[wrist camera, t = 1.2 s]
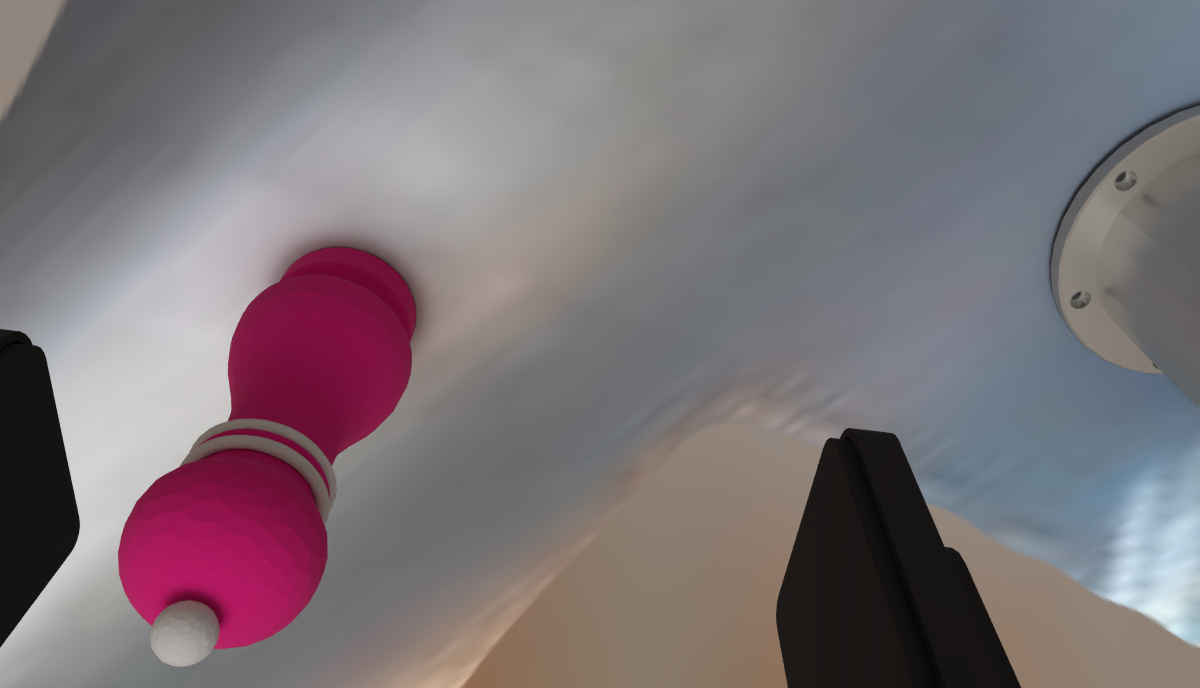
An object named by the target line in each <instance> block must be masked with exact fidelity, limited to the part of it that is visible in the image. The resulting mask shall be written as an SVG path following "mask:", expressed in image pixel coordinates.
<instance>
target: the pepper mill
mask: <svg viewBox="0 0 1200 688" xmlns="http://www.w3.org/2000/svg"><path fill="white" fill-rule="evenodd" d="M415 325H416V308H415V303H414V299H413V297H412V295H411V292H410V290H409V288H408V286H407V284H406V283H405V281H404V280H403V279H402V278H401V276H400V275H399V274H398V273H397V272H396V271H395V270H394V269H393V268H392V267H390V266H389V265H388V264H387V263H385V262H384V261H382V260H381V259H379V258H377V257H375V256H373V255H371V254H368V253H366V252H364V251H360V250H356V249H351V248H342V247H334V248H325V249H320V250H317V251H313V252H311V253H309V254H306V255H304V256H303V257H301V258H300V259H298V260H297V261H296V262H295V263H293V264H292V265H291V266H290V268H289V269H288V270H287V271H286V273H285V274H284V276H283V277H282V279H281V280H280V282H278V283H276V284H274V285H271V286H270V287H268V288H267V289H266V290H264V291H263V292H261V293H260V294H259V295H258V296H257V297H256V298H255V299H254V300H253V301H252V302H251V303H250V304H249V305H248V307H247V308H246V310H245V312H244V313H243V315H242V317H241V319H240V321H239V323H238V325H237V328H236V330H235V332H234V335H233V337H232V341H231V346H230V353H229V361H228V378H229V385H230V393H231V406H232V409H231V414H230V417H229V419H228V421H227V422H224V423H221V424H219V425H216V426H214V427H212V428H211V429H209V430H208V431H206V432H205V433H204V434H203V435H201V436H200V437H199V438H198V439H197V441H196V442H195V443H194V445H193V446H192V448H191V450H190V453H189V454H188V455H187V457H186V458H185V459H184V461H183V462H182V464H181V465H180V467H178V468H177V469H175V470H173V471H171V472H169V473H167V474H165V475H164V476H162V477H160V478H159V479H157V480H156V481H155V482H154V483H153V484H152V485H151V486H150V487H149V489H148V490H147V491H146V492H145V493H144V494H143V495H142V496H141V497H140V499H139V500H138V501H137V502H136V504H135V506H134V508H133V510H132V512H131V514H130V515H129V517H128V519H127V521H126V523H125V526H124V529H123V532H122V536H121V541H120V545H119V550H118V562H119V576H120V579H121V582H122V585H123V588H124V591H125V593H126V595H127V597H128V599H129V601H130V603H131V604H132V606H133V607H134V608H135V609H136V610H137V612H138V613H139V614H140V615H141V616H142V618H143V619H145V620H146V621H147V622H148V623H149V624H151V625H152V628H151V632H150V639H151V648H152V649H153V651H154V652H155V654H156V655H157V656H158V657H159V658H160V660H161V661H162V662H164V663H167V664H169V665H171V666H177V667H182V666H189V665H193V664H195V663H197V662H199V661H201V660H203V659H204V658H205V657H206V656H208V655H209V654H210V653H211V651H212V650H213V649H225V648H234V647H242V646H248V645H251V644H253V643H256V642H259V641H261V640H264V639H266V638H269V637H271V636H273V635H274V634H276V633H277V632H279V631H280V630H282V629H283V628H284V627H286V626H287V625H288V624H290V623H291V622H292V621H293V620H294V619H295V618H296V617H297V616H298V614H299V613H300V612H301V611H302V610H303V609H304V608H305V607H306V605H307V604H308V603H309V601H310V600H311V598H312V596H313V595H314V593H315V591H316V589H317V587H318V585H319V583H320V580H321V578H322V575H323V573H324V569H325V565H326V561H327V557H328V555H327V532H326V529H325V524H326V522H327V519H328V515H329V511H330V509H331V508H332V506H333V503H334V500H335V497H336V490H337V489H336V478H335V474H334V471H333V468H332V464H333V462H334V460H335V458H336V456H337V455H338V454H339V453H340V452H342V451H343V450H345V449H346V448H348V447H349V446H351V445H353V444H354V443H356V442H358V441H360V440H361V439H363V438H365V437H366V436H368V435H369V434H370V433H372V432H373V431H374V430H375V429H376V428H377V427H378V426H379V425H380V424H381V423H382V422H384V421H385V419H386V418H387V417H388V416H389V415H390V414H391V413H392V412H393V411H394V409H395V407H396V406H397V404H398V402H399V400H400V398H401V397H402V395H403V393H404V391H405V389H406V387H407V384H408V381H409V378H410V374H411V366H412V353H411V348H410V341H411V338H412V335H413V332H414V329H415Z"/></svg>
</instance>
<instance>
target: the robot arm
mask: <svg viewBox="0 0 1200 688" xmlns="http://www.w3.org/2000/svg"><path fill="white" fill-rule="evenodd" d="M1119 174H1120V175H1119ZM1118 175H1119V176H1118ZM1050 270H1051V283H1052V293H1053V296H1054V299H1055V302H1056V305H1057V308H1058V311H1059V314H1060V315H1061V317H1062V318H1063V320H1064V321H1065V323H1066V324H1067V326H1068V327H1069V329H1070V330H1071V332H1072V333H1073V334H1074V335H1075V336H1076V337H1077V338H1078V339H1079V340H1080V341H1081V342H1082V343H1083V345H1084V346H1085V347H1086V348H1088V349H1089V350H1090V351H1092V352H1093V353H1094V354H1096V355H1097V356H1099V357H1100V358H1101V359H1103V360H1105V361H1107V362H1109V363H1112V364H1114V365H1117V366H1119V367H1121V368H1124V369H1128V370H1133V371H1137V372H1142V373H1147V374H1164V375H1165V376H1166V377H1167V378H1168V379H1169V380H1170V381H1171V382H1172V383H1173V384H1174V385H1175V386H1176V387H1177V388H1178V389H1179V390H1180V391H1181V392H1182V393H1183V394H1184V395H1185V396H1186V397H1187V398H1188V399H1189V400H1190V401H1191V402H1192V403H1193V404H1194V405H1195V407H1196V408H1197V409H1198V410H1199V411H1200V105H1199V106H1196V107H1193V108H1190V109H1187V110H1184V111H1181V112H1178V113H1176V114H1174V115H1172V116H1170V117H1168V118H1166V119H1164V120H1162V121H1160V122H1158V123H1156V124H1154V125H1152V126H1150V127H1148V128H1147V129H1145V130H1144V131H1142V132H1141V133H1139V134H1138V135H1137V136H1135V137H1134V138H1132V139H1131V140H1129V141H1128V142H1126V143H1125V144H1124V145H1122V146H1121V147H1120V148H1119V149H1118V150H1116V151H1115V152H1114V153H1113V154H1112V155H1111V156H1110V157H1109V158H1108V159H1107V160H1106V161H1105V162H1104V163H1102V164H1101V165H1100V166H1099V167H1098V168H1097V169H1096V170H1095V172H1094V173H1093V174H1092V175H1091V177H1090V178H1089V179H1088V181H1087V182H1086V183H1085V184H1084V186H1083V187H1082V188H1081V189H1080V191H1079V192H1078V193H1077V195H1076V197H1075V198H1074V200H1073V202H1072V204H1071V205H1070V207H1069V209H1068V211H1067V212H1066V214H1065V216H1064V218H1063V220H1062V223H1061V226H1060V229H1059V231H1058V234H1057V237H1056V240H1055V243H1054V248H1053V254H1052V261H1051V268H1050ZM79 529H80V520H79V514H78V509H77V505H76V500H75V495H74V490H73V485H72V481H71V476H70V471H69V466H68V461H67V457H66V452H65V447H64V442H63V437H62V433H61V428H60V423H59V418H58V413H57V408H56V404H55V399H54V394H53V389H52V384H51V380H50V375H49V370H48V365H47V360H46V357H45V354H44V352H43V350H42V349H41V348H40V347H38V346H35V345H32V343H31V340H30V339H29V338H28V336H27V335H26V334H24V333H22V332H20V331H12V330H3V329H0V647H1V646H2V645H3V643H4V642H5V640H6V639H7V638H8V636H9V635H10V634H11V632H12V631H13V630H14V628H15V627H16V626H17V624H18V623H19V622H20V620H21V619H22V618H23V616H24V615H25V614H26V612H27V611H28V610H29V608H30V607H31V605H32V604H33V603H34V601H35V600H36V599H37V597H38V596H39V595H40V593H41V592H42V591H43V589H44V588H45V587H46V585H47V584H48V583H49V581H50V580H51V579H52V577H53V576H54V575H55V573H56V572H57V571H58V569H59V568H60V566H61V565H62V564H63V562H64V561H65V560H66V558H67V557H68V556H69V554H70V553H71V551H72V550H73V548H74V546H75V544H76V542H77V539H78V535H79ZM776 620H777V621H776V623H777V630H778V635H779V641H780V646H781V651H782V657H783V662H784V668H785V673H786V679H787V685H788V688H1021V687H1020V684H1019V682H1018V680H1017V677H1016V675H1015V673H1014V671H1013V669H1012V666H1011V664H1010V662H1009V660H1008V657H1007V655H1006V653H1005V651H1004V648H1003V646H1002V644H1001V642H1000V639H999V637H998V635H997V633H996V631H995V628H994V626H993V624H992V622H991V620H990V617H989V615H988V613H987V610H986V608H985V606H984V604H983V602H982V599H981V597H980V595H979V593H978V590H977V588H976V586H975V584H974V581H973V579H972V577H971V575H970V572H969V570H968V568H967V566H966V564H965V562H964V560H963V559H962V557H961V555H960V554H959V552H957V551H956V550H954V549H953V548H949V547H944V545H943V542H942V540H941V537H940V535H939V533H938V531H937V528H936V526H935V523H934V521H933V519H932V516H931V514H930V512H929V510H928V507H927V505H926V503H925V500H924V498H923V496H922V493H921V491H920V489H919V486H918V484H917V482H916V479H915V477H914V475H913V472H912V470H911V468H910V465H909V463H908V461H907V458H906V456H905V454H904V451H903V449H902V447H901V444H900V442H899V440H898V438H897V437H896V435H895V434H893V433H887V432H878V431H870V430H861V429H853V428H848V429H846V430H845V431H844V432H843V433H842V435H841V437H840V439H836V438H829V439H828V440H827V441H826V443H825V445H824V448H823V451H822V454H821V458H820V461H819V464H818V467H817V471H816V474H815V478H814V481H813V484H812V487H811V491H810V494H809V497H808V500H807V504H806V507H805V510H804V514H803V517H802V520H801V524H800V527H799V530H798V533H797V537H796V540H795V543H794V546H793V550H792V553H791V557H790V560H789V563H788V566H787V570H786V573H785V576H784V580H783V583H782V586H781V589H780V593H779V596H778V601H777V611H776Z"/></svg>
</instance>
